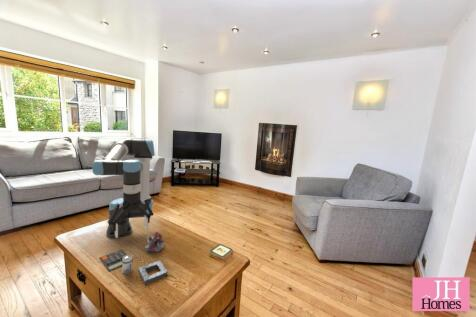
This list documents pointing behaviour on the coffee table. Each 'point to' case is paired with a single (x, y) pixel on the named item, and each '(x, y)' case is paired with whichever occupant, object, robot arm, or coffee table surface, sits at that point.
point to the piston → (127, 264)
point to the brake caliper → (155, 243)
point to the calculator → (113, 260)
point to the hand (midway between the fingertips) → (131, 232)
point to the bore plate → (152, 277)
